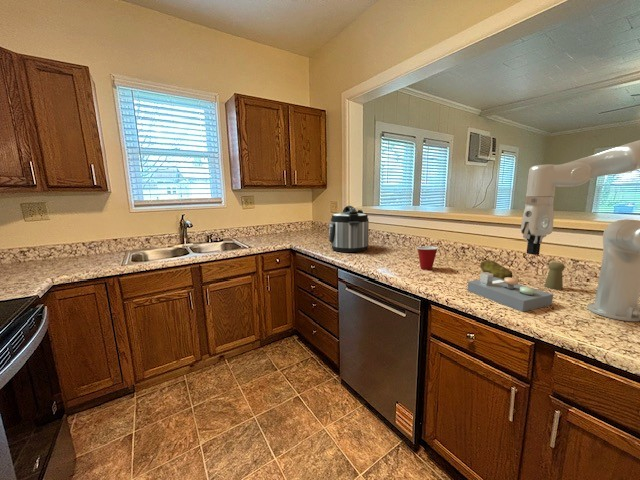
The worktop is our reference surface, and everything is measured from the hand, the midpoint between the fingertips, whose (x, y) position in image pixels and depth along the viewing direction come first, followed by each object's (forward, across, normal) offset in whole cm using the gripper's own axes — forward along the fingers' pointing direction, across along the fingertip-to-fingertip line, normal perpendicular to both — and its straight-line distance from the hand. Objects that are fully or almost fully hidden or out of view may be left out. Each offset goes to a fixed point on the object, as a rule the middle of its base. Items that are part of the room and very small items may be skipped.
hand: (532, 253), depth 95 cm
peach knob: (+16, 0, +6) cm, 17 cm away
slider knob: (+14, -4, +13) cm, 20 cm away
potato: (+19, +19, +26) cm, 37 cm away
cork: (+19, +29, +7) cm, 35 cm away
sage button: (+17, 0, 0) cm, 17 cm away
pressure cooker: (+18, -16, +112) cm, 115 cm away
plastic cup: (+19, 0, +51) cm, 55 cm away
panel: (+19, 0, +7) cm, 20 cm away
